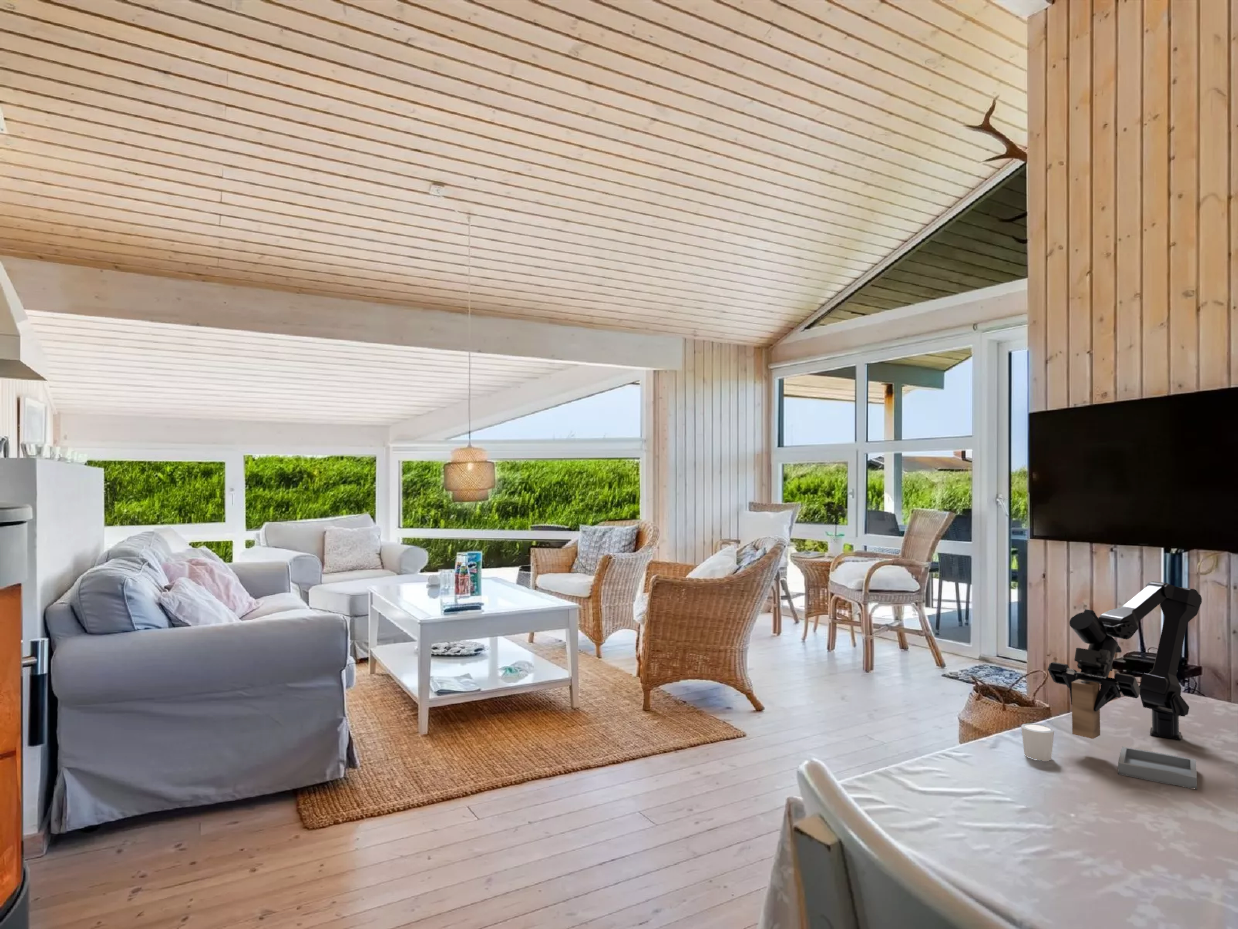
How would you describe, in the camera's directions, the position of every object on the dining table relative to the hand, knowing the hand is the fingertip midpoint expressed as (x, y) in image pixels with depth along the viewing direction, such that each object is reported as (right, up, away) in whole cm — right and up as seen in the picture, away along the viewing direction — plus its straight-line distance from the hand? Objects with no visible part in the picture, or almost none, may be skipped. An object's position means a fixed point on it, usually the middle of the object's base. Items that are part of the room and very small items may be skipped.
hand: (1083, 708), depth 180 cm
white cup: (-12, -11, -2) cm, 17 cm away
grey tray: (+10, -11, -11) cm, 18 cm away
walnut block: (+1, -7, +1) cm, 7 cm away
